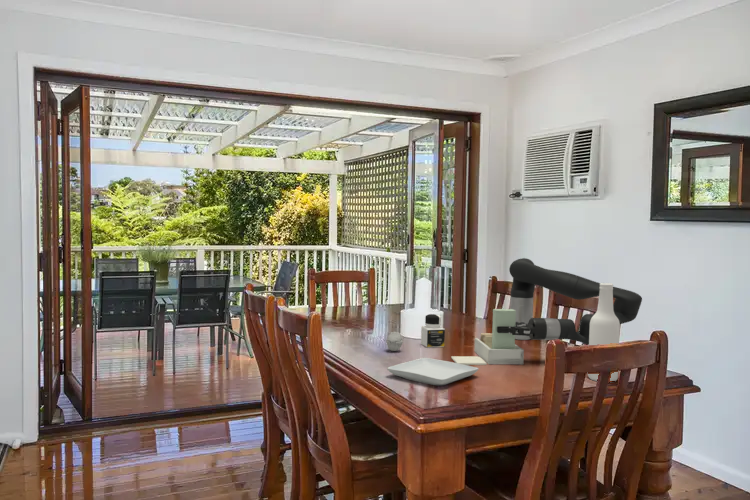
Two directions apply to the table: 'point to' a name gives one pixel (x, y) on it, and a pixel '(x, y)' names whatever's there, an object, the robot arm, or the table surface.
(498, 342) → the board
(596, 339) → the alcohol
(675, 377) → the table surface
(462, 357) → the pad
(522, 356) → the tray
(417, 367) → the salad plate
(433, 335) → the medicine bottle
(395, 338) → the frog figurine
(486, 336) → the offcut upper
